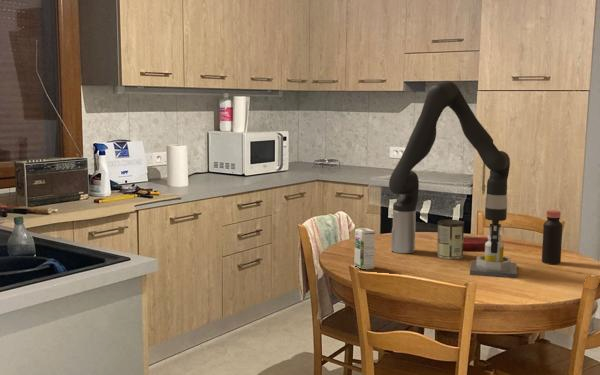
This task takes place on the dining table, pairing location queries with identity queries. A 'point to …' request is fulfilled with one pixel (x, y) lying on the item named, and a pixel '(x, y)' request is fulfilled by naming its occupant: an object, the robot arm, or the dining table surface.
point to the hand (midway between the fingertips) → (494, 250)
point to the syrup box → (364, 248)
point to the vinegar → (552, 238)
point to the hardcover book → (474, 243)
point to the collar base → (493, 267)
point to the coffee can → (450, 239)
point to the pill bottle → (494, 256)
